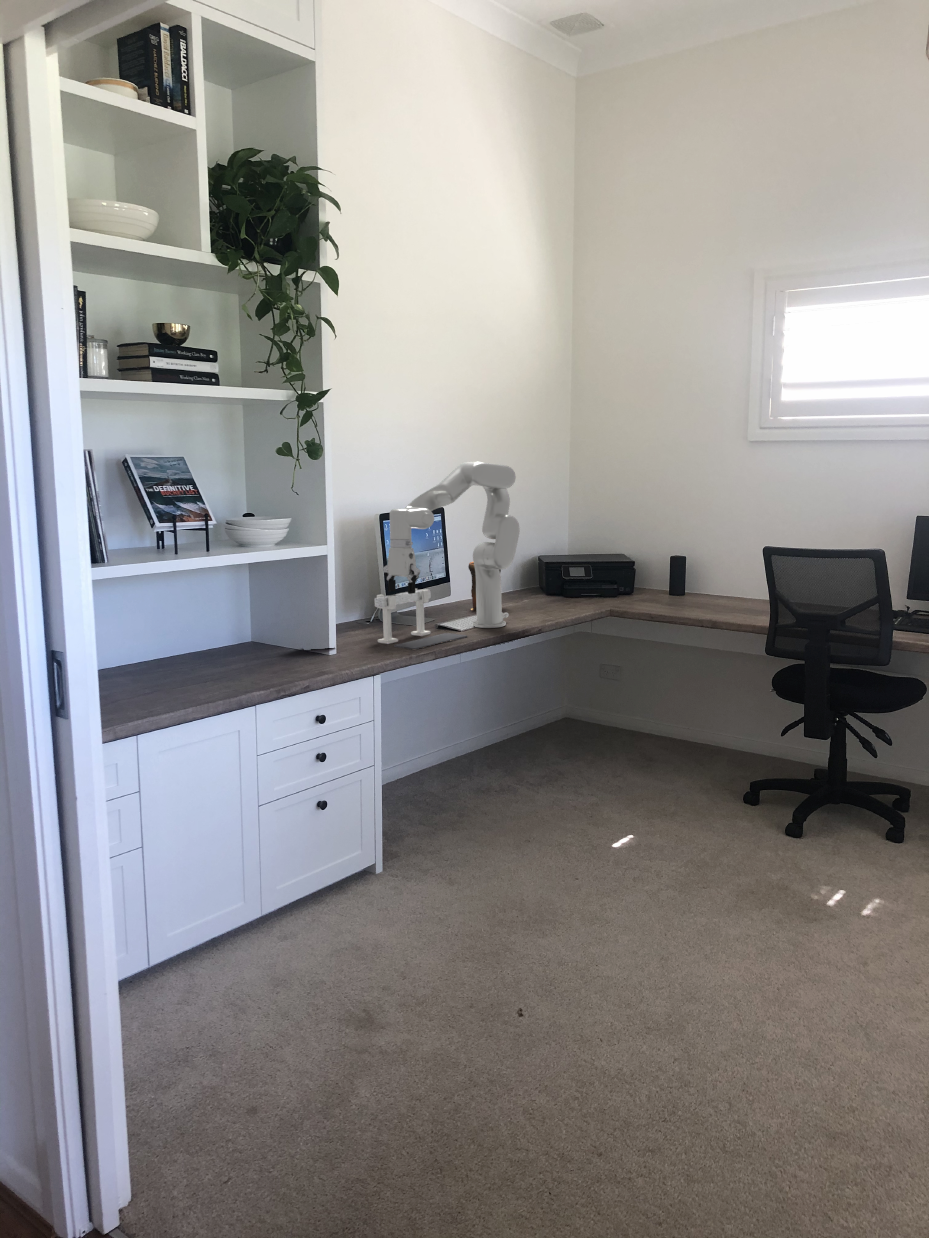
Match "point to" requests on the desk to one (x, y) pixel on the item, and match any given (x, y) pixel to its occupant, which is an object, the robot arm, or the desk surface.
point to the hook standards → (392, 605)
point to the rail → (400, 598)
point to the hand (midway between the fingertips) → (401, 592)
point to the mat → (430, 641)
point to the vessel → (474, 584)
